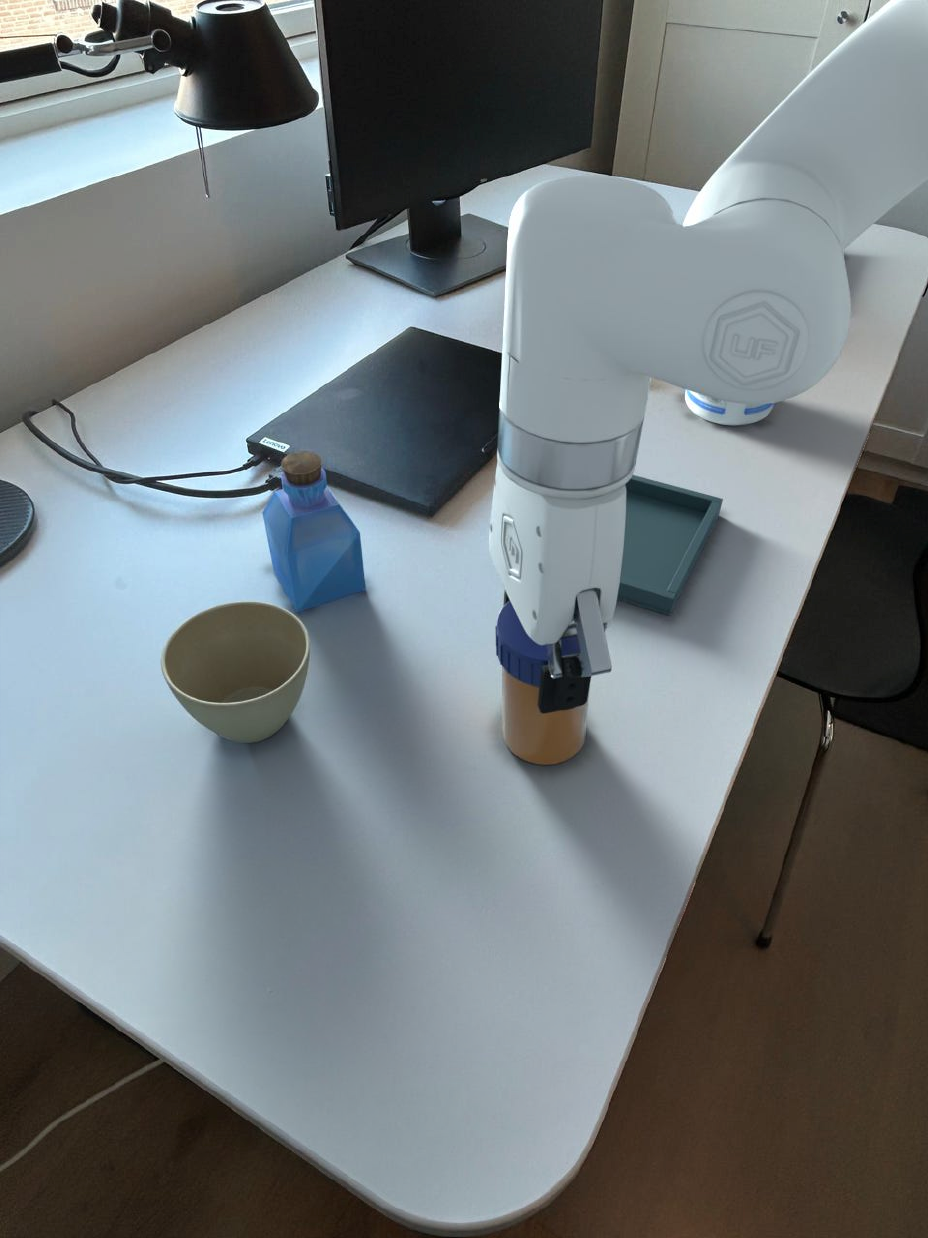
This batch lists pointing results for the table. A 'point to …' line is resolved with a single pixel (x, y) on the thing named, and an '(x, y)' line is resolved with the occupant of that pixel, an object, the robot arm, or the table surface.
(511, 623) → the lid
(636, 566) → the tray
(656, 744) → the table surface
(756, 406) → the supplement tub
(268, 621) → the flower pot
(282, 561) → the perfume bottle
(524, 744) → the jar
